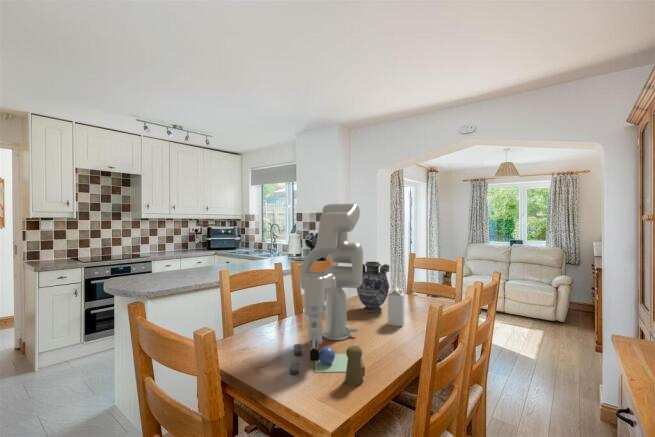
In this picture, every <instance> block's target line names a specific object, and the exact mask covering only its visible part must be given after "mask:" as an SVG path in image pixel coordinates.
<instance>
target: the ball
mask: <svg viewBox="0 0 655 437" xmlns="http://www.w3.org/2000/svg"><path fill="white" fill-rule="evenodd" d="M335 354H336V353H335V351H334V349H333V348H332V347H329V346H324V347H322V348H320V350H319V360H320V362H321V363H323V364H325V365H329V364H331V363H332V362H333V361H334V359H335Z"/></svg>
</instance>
